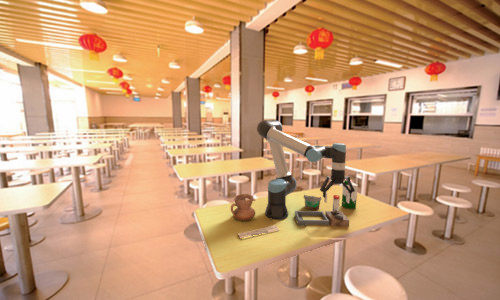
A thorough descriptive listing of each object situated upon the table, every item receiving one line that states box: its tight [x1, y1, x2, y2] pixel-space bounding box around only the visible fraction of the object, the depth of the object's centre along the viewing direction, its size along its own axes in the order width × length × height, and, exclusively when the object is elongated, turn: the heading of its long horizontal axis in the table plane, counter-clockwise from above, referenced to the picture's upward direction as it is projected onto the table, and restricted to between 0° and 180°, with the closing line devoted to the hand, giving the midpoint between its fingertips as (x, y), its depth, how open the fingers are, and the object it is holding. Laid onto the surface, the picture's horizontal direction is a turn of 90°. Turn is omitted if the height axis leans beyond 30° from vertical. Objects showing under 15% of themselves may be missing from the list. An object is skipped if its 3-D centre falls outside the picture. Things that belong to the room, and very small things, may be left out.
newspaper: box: [237, 225, 280, 240], centre depth 118 cm, size 24×7×2 cm, turn 113°
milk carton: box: [341, 179, 359, 210], centre depth 150 cm, size 9×9×20 cm
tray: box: [294, 210, 330, 227], centre depth 131 cm, size 18×13×4 cm
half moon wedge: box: [303, 194, 322, 211], centre depth 146 cm, size 12×6×10 cm, turn 62°
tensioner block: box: [324, 210, 350, 228], centre depth 128 cm, size 10×12×7 cm
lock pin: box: [331, 194, 341, 215], centre depth 130 cm, size 4×4×16 cm
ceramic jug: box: [230, 193, 256, 221], centre depth 135 cm, size 18×14×14 cm
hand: (336, 202), depth 129 cm, fingers open, 13 cm apart
